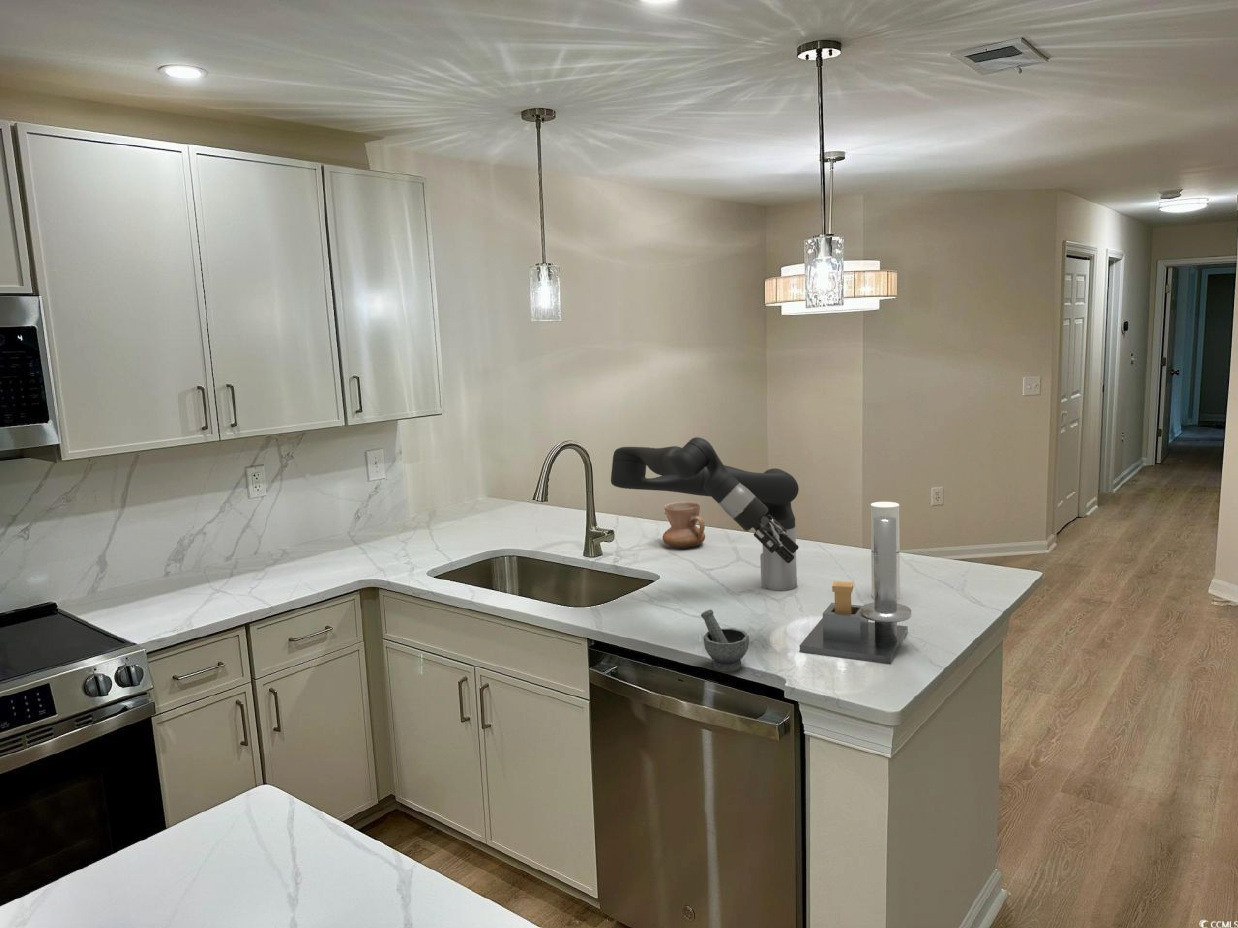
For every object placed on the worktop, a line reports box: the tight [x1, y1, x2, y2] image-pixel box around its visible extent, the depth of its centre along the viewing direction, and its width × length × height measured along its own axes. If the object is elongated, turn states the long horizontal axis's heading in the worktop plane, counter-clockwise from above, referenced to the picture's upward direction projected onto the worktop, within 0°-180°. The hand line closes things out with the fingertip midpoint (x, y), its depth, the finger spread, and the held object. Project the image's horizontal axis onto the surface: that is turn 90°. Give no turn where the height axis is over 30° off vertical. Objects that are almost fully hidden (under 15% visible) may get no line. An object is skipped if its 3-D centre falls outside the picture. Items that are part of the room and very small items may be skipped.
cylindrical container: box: [870, 501, 901, 600], centre depth 226 cm, size 7×7×25 cm
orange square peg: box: [831, 580, 854, 614], centre depth 198 cm, size 4×4×12 cm
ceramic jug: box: [662, 501, 706, 549], centre depth 290 cm, size 18×14×14 cm
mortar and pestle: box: [700, 609, 750, 672], centre depth 188 cm, size 11×9×12 cm
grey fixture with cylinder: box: [799, 517, 912, 665], centre depth 194 cm, size 22×20×30 cm
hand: (794, 555), depth 199 cm, fingers open, 8 cm apart
